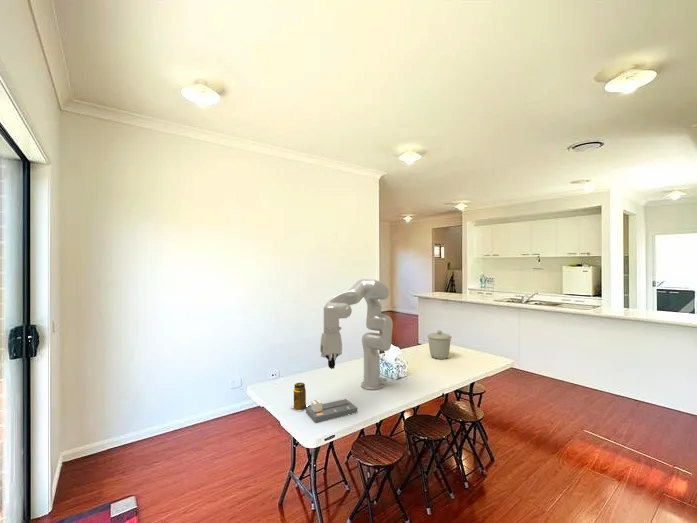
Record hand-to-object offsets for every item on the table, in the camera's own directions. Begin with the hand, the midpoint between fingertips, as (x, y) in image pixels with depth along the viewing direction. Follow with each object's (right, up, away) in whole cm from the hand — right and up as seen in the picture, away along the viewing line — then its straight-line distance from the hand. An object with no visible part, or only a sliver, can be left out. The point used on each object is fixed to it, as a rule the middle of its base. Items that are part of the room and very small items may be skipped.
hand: (331, 367), depth 164 cm
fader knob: (-7, -19, -4) cm, 21 cm away
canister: (+79, -22, +95) cm, 126 cm away
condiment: (-16, -22, +6) cm, 28 cm away
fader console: (0, -22, 0) cm, 22 cm away
